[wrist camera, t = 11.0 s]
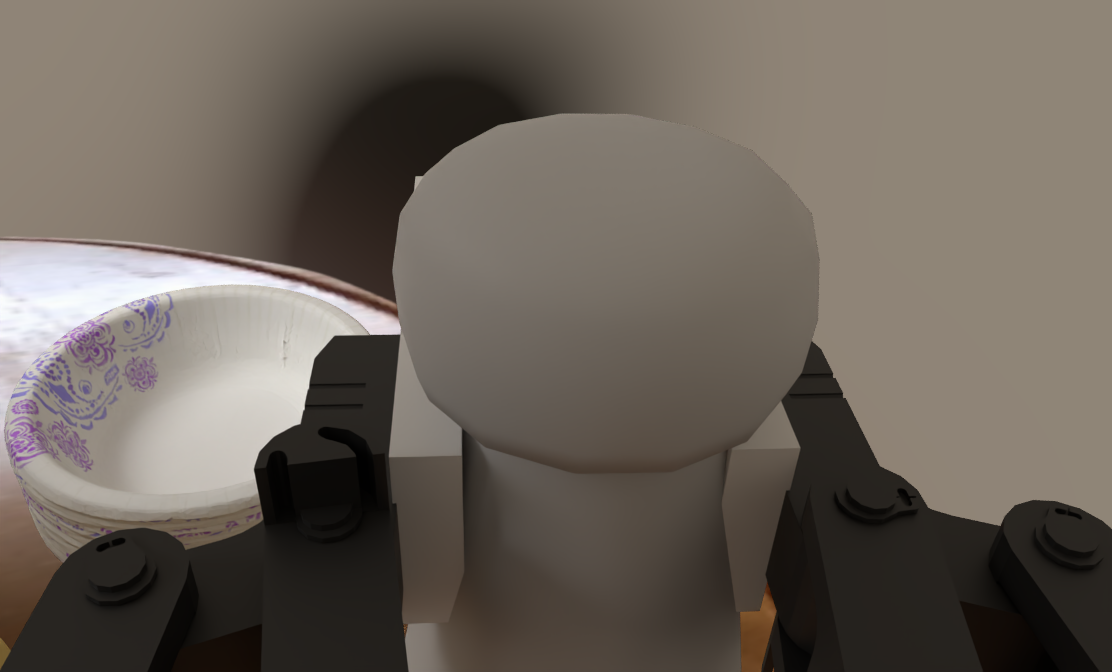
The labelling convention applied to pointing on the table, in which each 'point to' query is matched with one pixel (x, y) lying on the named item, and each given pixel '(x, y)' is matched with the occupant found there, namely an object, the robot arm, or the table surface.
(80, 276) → the table surface
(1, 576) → the table surface
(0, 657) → the cheese
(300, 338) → the paper bowls
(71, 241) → the table surface
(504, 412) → the salt shaker
